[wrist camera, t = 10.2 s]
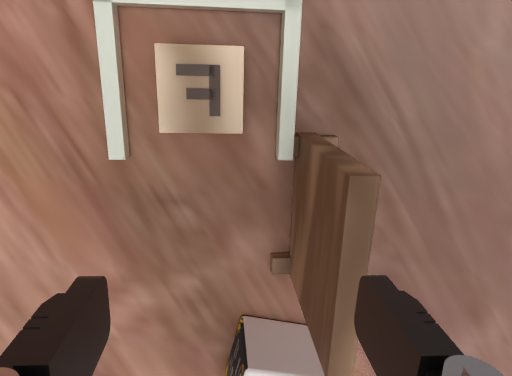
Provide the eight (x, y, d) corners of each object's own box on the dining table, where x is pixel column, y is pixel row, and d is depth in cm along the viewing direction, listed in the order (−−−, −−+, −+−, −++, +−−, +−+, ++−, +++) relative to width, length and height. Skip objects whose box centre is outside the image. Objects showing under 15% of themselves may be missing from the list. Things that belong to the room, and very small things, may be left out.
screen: (335, 133, 31) (413, 175, 18) (322, 268, 35) (379, 379, 22) (276, 132, 30) (316, 175, 18) (270, 270, 34) (299, 383, 22)
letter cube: (239, 50, 28) (244, 46, 23) (238, 122, 30) (242, 134, 24) (166, 48, 27) (153, 42, 22) (170, 121, 29) (159, 133, 24)
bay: (298, -4, 27) (302, -8, 26) (289, 156, 31) (292, 160, 29) (98, -14, 26) (91, -19, 24) (114, 155, 29) (109, 159, 28)
